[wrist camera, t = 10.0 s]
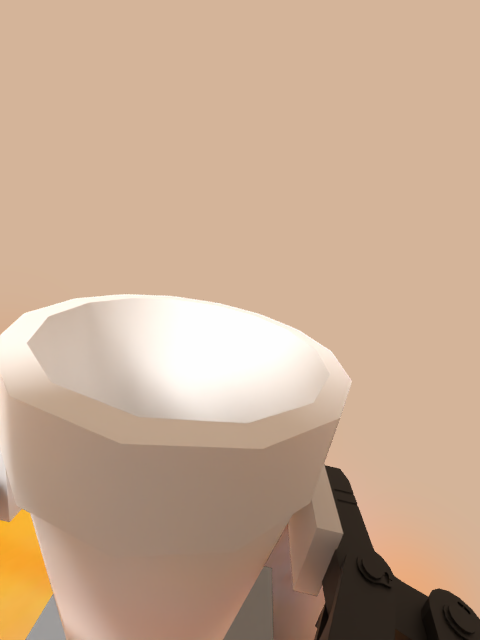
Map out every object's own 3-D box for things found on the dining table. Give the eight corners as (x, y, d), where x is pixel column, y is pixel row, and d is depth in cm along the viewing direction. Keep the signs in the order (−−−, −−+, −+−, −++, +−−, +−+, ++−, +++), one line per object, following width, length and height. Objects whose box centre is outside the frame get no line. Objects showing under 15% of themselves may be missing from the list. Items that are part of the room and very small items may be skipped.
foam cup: (201, 480, 18) (237, 298, 15) (299, 653, 11) (414, 388, 8) (24, 554, 13) (10, 289, 9) (1, 990, 6) (-107, 596, 2)
